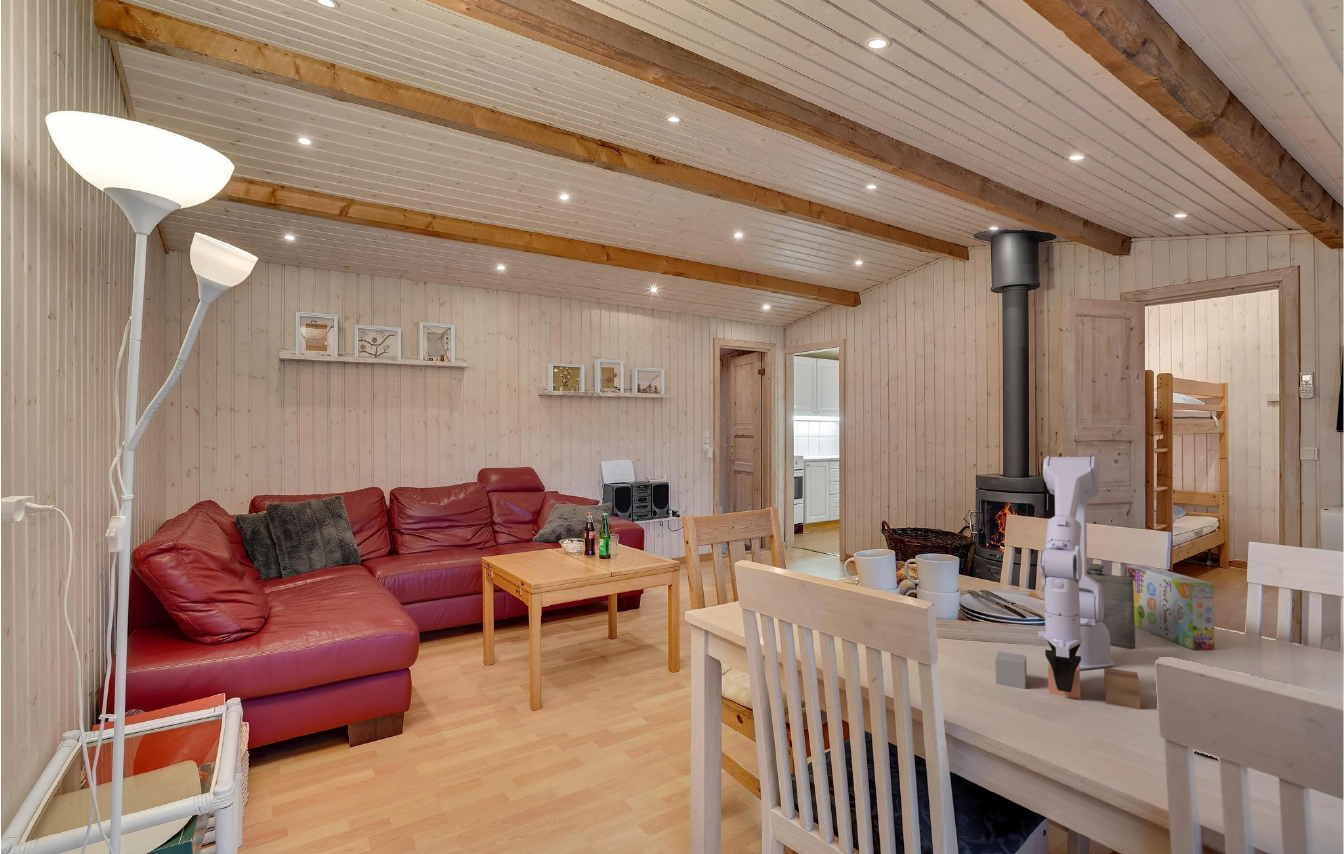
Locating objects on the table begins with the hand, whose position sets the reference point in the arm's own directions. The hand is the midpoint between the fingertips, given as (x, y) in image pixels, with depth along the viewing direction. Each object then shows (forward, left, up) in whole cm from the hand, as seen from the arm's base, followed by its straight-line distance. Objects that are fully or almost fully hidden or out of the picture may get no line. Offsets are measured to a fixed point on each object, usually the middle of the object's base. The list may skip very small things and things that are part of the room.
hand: (1064, 683), depth 118 cm
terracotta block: (0, 0, -2) cm, 2 cm away
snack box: (-50, -21, -2) cm, 54 cm away
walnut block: (-6, +6, -2) cm, 9 cm away
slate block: (+6, -6, -2) cm, 9 cm away
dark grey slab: (-31, -22, -2) cm, 37 cm away
